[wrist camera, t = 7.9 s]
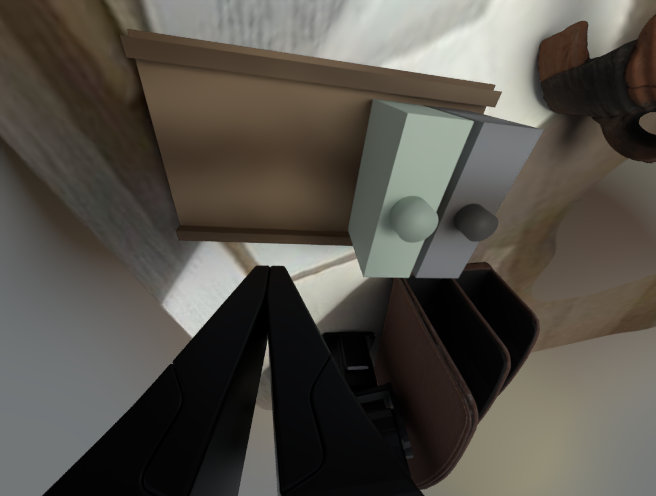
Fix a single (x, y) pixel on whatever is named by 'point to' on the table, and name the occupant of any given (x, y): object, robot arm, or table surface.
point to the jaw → (402, 183)
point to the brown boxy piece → (308, 144)
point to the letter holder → (450, 359)
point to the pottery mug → (604, 85)
